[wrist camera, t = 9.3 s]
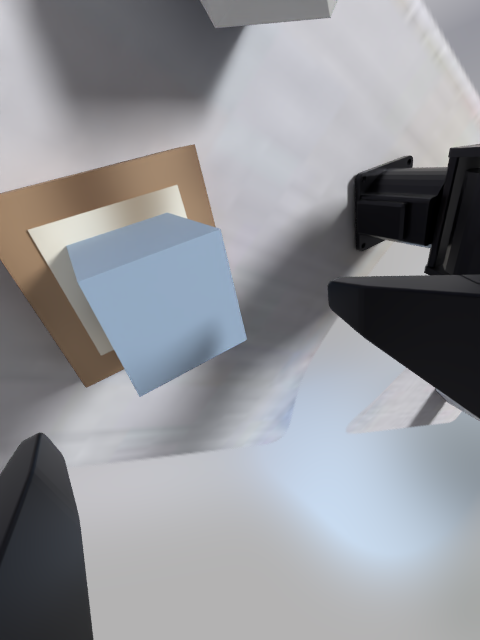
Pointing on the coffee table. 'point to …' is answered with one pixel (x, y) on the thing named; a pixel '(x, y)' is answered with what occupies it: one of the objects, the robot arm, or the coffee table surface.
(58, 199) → the picture frame
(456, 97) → the coffee table surface
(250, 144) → the coffee table surface
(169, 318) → the block
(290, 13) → the die
